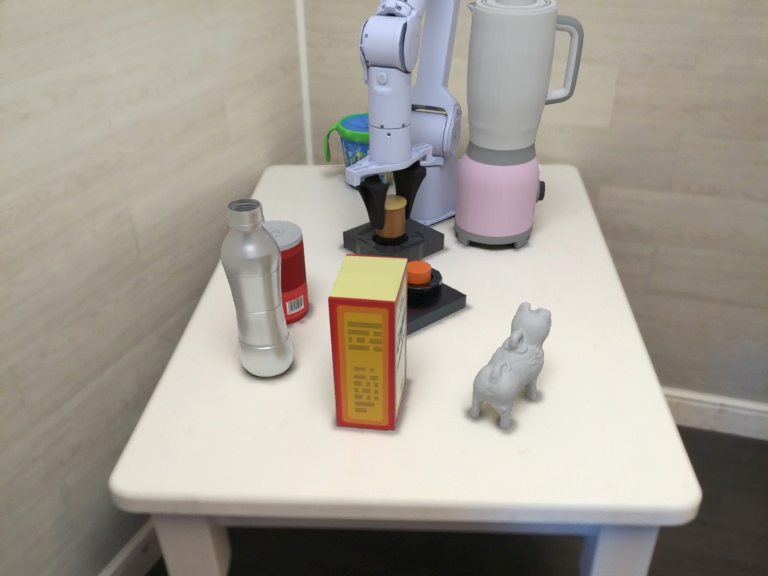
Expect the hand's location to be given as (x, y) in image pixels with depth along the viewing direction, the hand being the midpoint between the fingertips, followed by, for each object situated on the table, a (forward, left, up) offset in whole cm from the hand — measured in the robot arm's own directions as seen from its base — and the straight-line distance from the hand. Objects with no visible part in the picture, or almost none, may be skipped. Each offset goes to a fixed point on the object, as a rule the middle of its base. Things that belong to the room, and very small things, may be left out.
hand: (390, 222), depth 107 cm
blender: (-18, +7, -5) cm, 20 cm away
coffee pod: (0, 0, -1) cm, 1 cm away
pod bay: (-2, -1, -5) cm, 5 cm away
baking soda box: (+26, +27, -5) cm, 38 cm away
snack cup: (-15, -23, -5) cm, 28 cm away
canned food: (+22, +3, -5) cm, 23 cm away
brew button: (+7, +13, -2) cm, 15 cm away
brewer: (+8, +14, -5) cm, 17 cm away
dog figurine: (+14, +37, -5) cm, 40 cm away
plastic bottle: (+31, +13, -5) cm, 34 cm away
